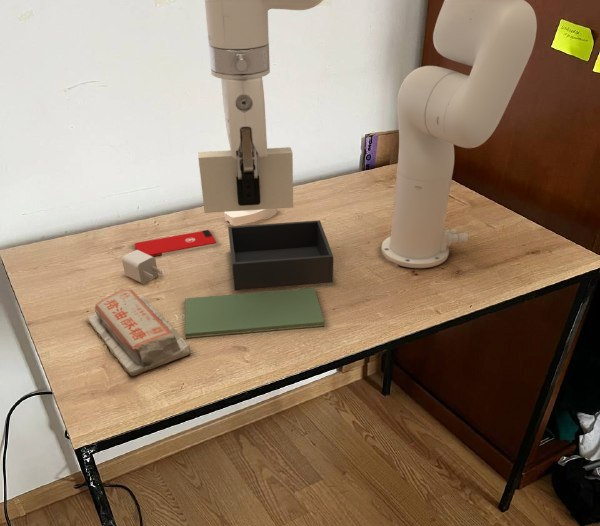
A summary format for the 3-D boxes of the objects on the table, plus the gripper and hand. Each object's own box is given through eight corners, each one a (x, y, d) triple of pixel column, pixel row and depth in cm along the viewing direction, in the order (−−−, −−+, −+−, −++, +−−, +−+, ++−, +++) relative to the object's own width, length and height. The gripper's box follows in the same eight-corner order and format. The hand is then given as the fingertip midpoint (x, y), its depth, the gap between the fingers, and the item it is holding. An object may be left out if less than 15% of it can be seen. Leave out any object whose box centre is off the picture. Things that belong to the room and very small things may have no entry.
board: (291, 201, 92) (290, 147, 87) (293, 207, 91) (292, 152, 85) (204, 206, 91) (198, 151, 86) (204, 213, 89) (198, 157, 84)
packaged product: (188, 328, 90) (124, 352, 86) (193, 355, 93) (131, 379, 89) (138, 277, 101) (79, 296, 97) (144, 302, 104) (87, 322, 100)
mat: (314, 292, 106) (314, 287, 106) (324, 327, 98) (324, 321, 98) (186, 303, 104) (185, 298, 103) (185, 339, 96) (185, 333, 96)
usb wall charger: (143, 268, 113) (139, 248, 110) (168, 280, 110) (164, 260, 107) (125, 277, 111) (121, 257, 108) (150, 289, 107) (146, 269, 105)
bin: (319, 247, 119) (320, 220, 115) (332, 284, 108) (333, 256, 104) (230, 253, 117) (228, 226, 113) (234, 292, 106) (232, 264, 103)
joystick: (236, 229, 125) (227, 126, 111) (216, 217, 129) (206, 116, 116) (280, 214, 130) (277, 114, 116) (259, 203, 134) (254, 105, 121)
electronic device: (139, 258, 116) (217, 244, 120) (139, 256, 115) (216, 241, 119) (134, 245, 120) (209, 231, 124) (133, 242, 119) (208, 229, 123)
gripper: (275, 74, 72) (279, 222, 84) (263, 44, 84) (269, 177, 96) (211, 77, 72) (225, 225, 84) (208, 46, 83) (221, 180, 96)
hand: (248, 199), depth 90 cm, fingers closed on board, 2 cm apart
